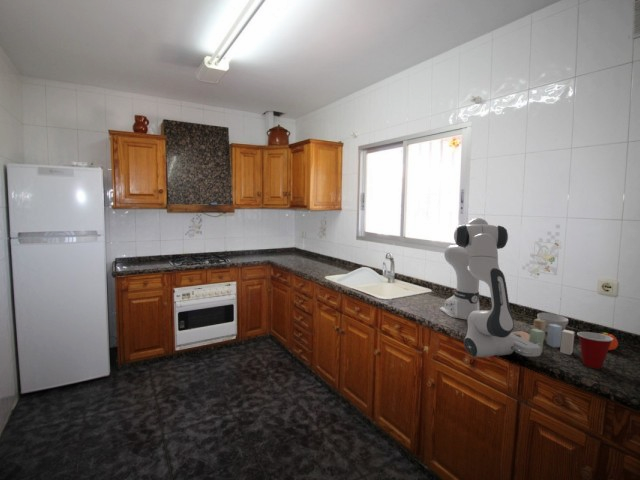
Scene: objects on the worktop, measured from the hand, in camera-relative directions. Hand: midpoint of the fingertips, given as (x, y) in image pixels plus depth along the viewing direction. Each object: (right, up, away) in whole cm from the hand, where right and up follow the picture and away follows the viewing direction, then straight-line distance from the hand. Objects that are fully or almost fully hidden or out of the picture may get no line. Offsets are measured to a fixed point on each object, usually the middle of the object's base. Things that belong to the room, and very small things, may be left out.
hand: (529, 340), depth 142 cm
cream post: (+16, -5, +1) cm, 17 cm away
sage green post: (+3, -5, +1) cm, 6 cm away
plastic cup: (+18, -7, -10) cm, 21 cm away
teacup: (+27, -4, +25) cm, 36 cm away
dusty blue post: (+15, -5, +8) cm, 18 cm away
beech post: (+13, -4, +15) cm, 20 cm away
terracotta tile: (+5, -4, +13) cm, 15 cm away
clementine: (+36, -6, +6) cm, 37 cm away
